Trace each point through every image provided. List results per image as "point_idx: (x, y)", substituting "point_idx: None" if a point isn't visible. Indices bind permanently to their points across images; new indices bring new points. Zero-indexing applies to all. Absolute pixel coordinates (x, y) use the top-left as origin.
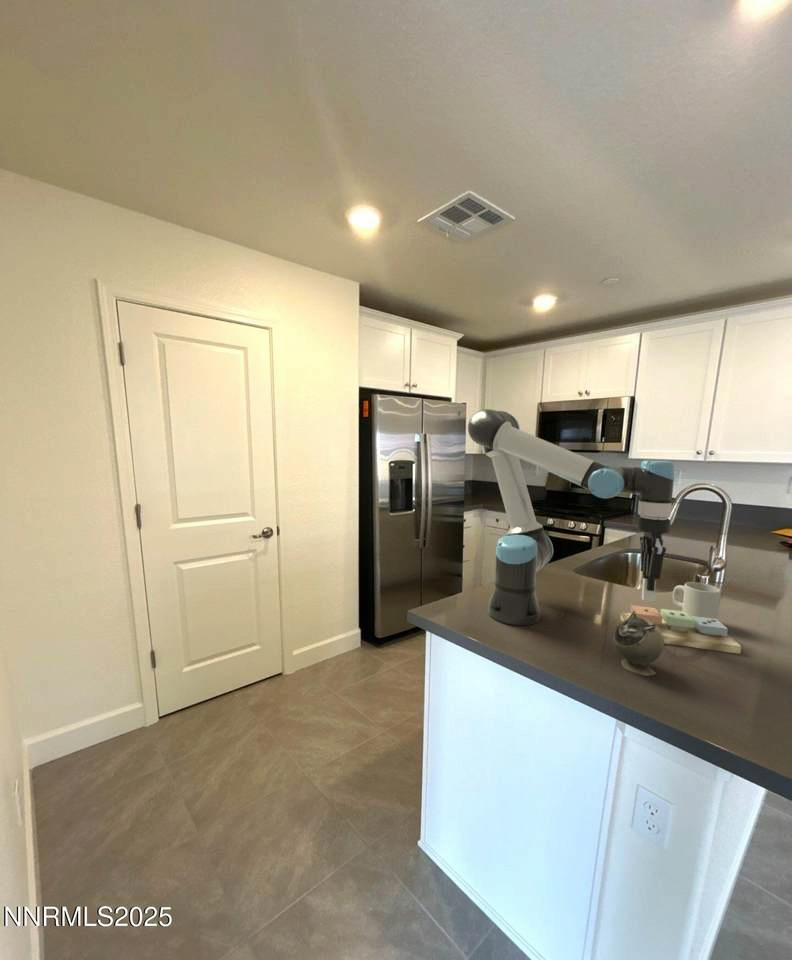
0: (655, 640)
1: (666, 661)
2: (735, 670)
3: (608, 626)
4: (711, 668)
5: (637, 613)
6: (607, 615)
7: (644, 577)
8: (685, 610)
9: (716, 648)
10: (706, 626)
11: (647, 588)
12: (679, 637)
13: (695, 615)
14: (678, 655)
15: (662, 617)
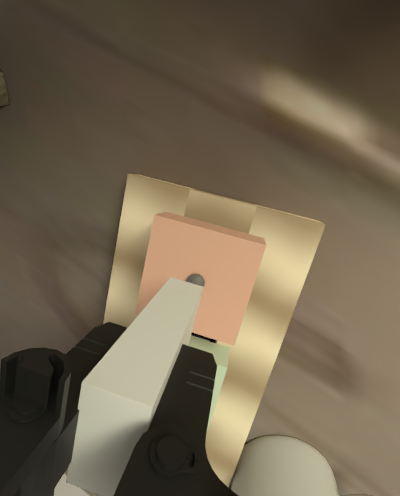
0: None
1: (16, 200)
2: (13, 350)
3: (238, 125)
4: (8, 300)
5: (157, 217)
6: (353, 176)
7: (14, 361)
8: (291, 480)
9: None
10: None
11: (118, 333)
12: (107, 315)
13: (251, 480)
14: (57, 259)
15: (201, 340)
